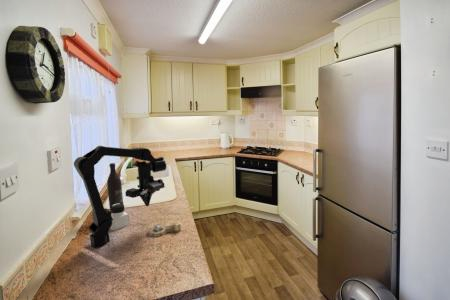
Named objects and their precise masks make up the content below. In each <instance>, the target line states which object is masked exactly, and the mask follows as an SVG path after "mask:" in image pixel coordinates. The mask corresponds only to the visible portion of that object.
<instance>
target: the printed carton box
mask: <svg viewBox="0 0 450 300" xmlns="http://www.w3.org/2000/svg"><path fill="white" fill-rule="evenodd" d="M111 211H112V214H111V217H112V219H113V220H112V225H111V227H110V228H109V229H111V230H112V231H116V230H119V229H121V228H124V227H127V226H130V217H129V213H127V212H125V211H126V209H125V205H124V203H123V204H114V205H113V206H112V207H111Z"/></svg>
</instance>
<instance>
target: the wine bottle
mask: <svg viewBox="0 0 450 300" xmlns="http://www.w3.org/2000/svg"><path fill="white" fill-rule="evenodd" d="M109 168H110V169H109V170H110V171H109V175H108V177H107V182H106V184H107V185H106V186H107V197H108V205H109V211H110V212H111V214H112V211H111V207H112V206H113V205H114V204H124V198H123V197H124V196H123V187H122V180H121V177H120V176H119V174H118V172H117V171H116V163H115V162H112V163H109Z"/></svg>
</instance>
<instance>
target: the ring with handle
mask: <svg viewBox="0 0 450 300" xmlns="http://www.w3.org/2000/svg"><path fill="white" fill-rule="evenodd" d="M176 224H177V225H178V232H180V231H182V227H181V226H182V225H181V222H173V223H172V222H170V223H166V226H165V225H160V224H159V225H160V226H161V231H160V232H155V229H154V226H152V227H150V228H148V230H147V235H148V236H150V237H154V238H155V237H160V236H164V235H166V234H167V233H169V232H171V233H172V232H175V228H174V225H176Z"/></svg>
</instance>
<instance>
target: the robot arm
mask: <svg viewBox="0 0 450 300" xmlns="http://www.w3.org/2000/svg"><path fill="white" fill-rule="evenodd" d="M106 156H107V157H123V158H132V159H135V162H134V163H133V164H132V166H133V167H136V168H137V174H138V175H137V176H136V180H138V185H137V188H134V187H132V188H129V189H126V191H125V192H124V193H125V197H129V198H132V199H133V198H138V197H139V198H141V200H142V202H143V204H144V206H145V207H149V206H150V203H151V200H152V196H153V195H154V194H155V193H156V192H159V191H160V189H164V188H166V187H165V183H164V182H163V181H164V180H163V179H162V178H159V179H155V178H154V175H152V173H158V172H163V171H166V170H167V162H166V160H164V158H165V157H163V156H160V157H156V158H155V157H154V155H153V154H152V151H151V150H150V149H149V148H146V147H131V148H125V147H124V148H123V147H114V146H113V147H112V146H103V145H98V146H96V147H95V148H94V149H92V150H90V151H89V152H87V153H85V154H84V155H82V156H78V157H77V158H76V159H75V160H74V162H73V167H74V169H75V171H76V172H77V174H78V175H79V177H80V178H81V180H82V181H83V184H84V187H85V190H86V194H87V197H88V199H89V202H90V205H91V209H92V223H91V224H90V225H89V227H88V228H87V230H88V231H89V233H91V234H90V235H89V240H90V247H91V248H93V249H97V248H101V247H104V246H106V245H107V244H108V243H110V242H111V241H110V240H111V238H110V234H109V232H110V229H111V228H110V227H111V225H112V220H113V219H112V217H111V212H110V209H108V208H105V206H104V204H103V201H102V197H101V195H100V192H99V189H98V185H97V181H96V178H95V174H96V173H95V166H96V165H97V164H98V163H99V162H100V161H101V160H102V158H104V157H106ZM136 159H137V160H136ZM139 160H140V161H139Z"/></svg>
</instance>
